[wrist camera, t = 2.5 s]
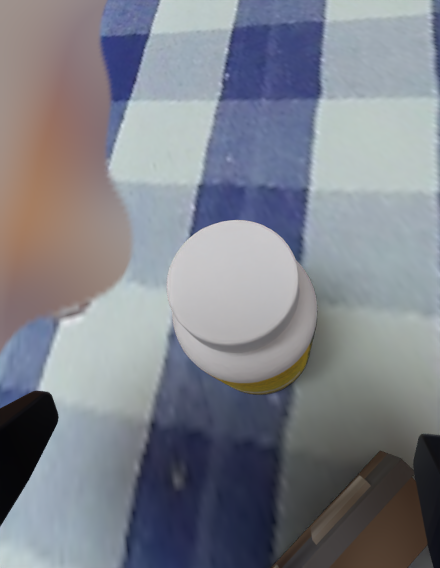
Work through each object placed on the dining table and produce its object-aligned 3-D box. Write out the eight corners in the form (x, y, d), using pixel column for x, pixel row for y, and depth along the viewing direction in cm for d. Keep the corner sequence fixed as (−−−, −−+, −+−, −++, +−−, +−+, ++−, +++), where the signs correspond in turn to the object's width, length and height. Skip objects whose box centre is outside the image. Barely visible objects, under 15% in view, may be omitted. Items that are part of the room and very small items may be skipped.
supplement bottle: (327, 376, 18) (359, 334, 9) (227, 409, 18) (163, 401, 9) (288, 283, 20) (282, 175, 11) (199, 315, 21) (125, 236, 12)
